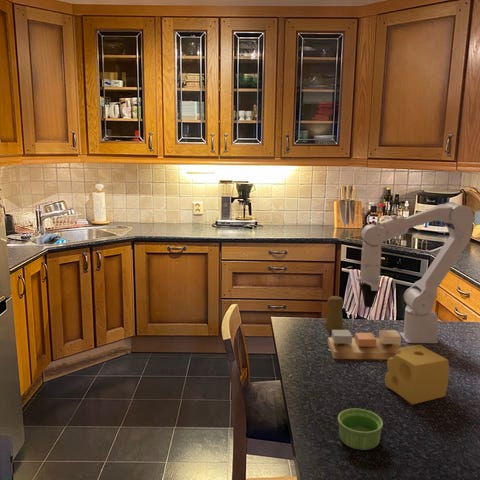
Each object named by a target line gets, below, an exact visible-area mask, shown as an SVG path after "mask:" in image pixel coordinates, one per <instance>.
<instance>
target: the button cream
mask: <svg viewBox="0 0 480 480" xmlns="http://www.w3.org/2000/svg"><path fill="white" fill-rule="evenodd" d="M378 338H380V340H381V341H382V343H383V344H399V345H401V344H402V336H401V335H400V334H399V332H398V331H397V330H395V329H393V330H390V329H389V330H388V329H387V330H386V329H379V330H378Z"/></svg>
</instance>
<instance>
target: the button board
mask: <svg viewBox="0 0 480 480" xmlns="http://www.w3.org/2000/svg"><path fill="white" fill-rule="evenodd" d="M375 338H376V347H359V346H358V345H357V343H356V341H355V337H352V344H348V343H334V341H333V339H332V336H331V337H329V336H328V338H327V344H328V348H329V349H330V352H331V355H332V358H333V359H334V360H388V359H389V358H391V357H394V356H395V355H396V354H397V351H398V349H400V348H402V347H401V344H383V343H382V341H381V340H380V338H379V337H375Z"/></svg>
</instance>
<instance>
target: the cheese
mask: <svg viewBox="0 0 480 480" xmlns="http://www.w3.org/2000/svg"><path fill="white" fill-rule="evenodd" d="M449 365H450V364H449V360H448V359H447V358H445V357H444V356H442V355H440V354H438V353H436V352H434V351H432V350H430V349H428V348H427V347H425V346H423V345H421V344H416V345H408V346H404V347H401V348H400V349H398V351H397V354H396V355H395V356H394V357H391V358H389V359H387V362H386V367H387V372H386V373H385V375H384V385H385V387H386V388H387V389H390V390H391V391H392V392H394V393H395V394H397V395H399V396H400V397H402V398H403V399H404V400H406V401H407V402H408V403H409V404H411V405H416V404H420V403H423V402H429V401H433V400H437V399H441V398H446V394H447V390H448V385H449V384H448V383H449V377H450V376H449V375H450V366H449Z"/></svg>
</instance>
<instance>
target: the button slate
mask: <svg viewBox="0 0 480 480" xmlns="http://www.w3.org/2000/svg"><path fill="white" fill-rule="evenodd" d="M331 337H332V339H333V341H334V343H348V344H352V338H353V335H352V333H351V332H350V329H344V330H332V332H331Z"/></svg>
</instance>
